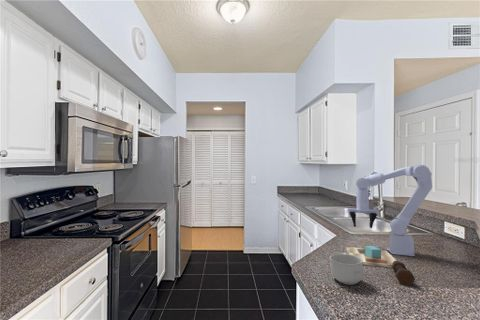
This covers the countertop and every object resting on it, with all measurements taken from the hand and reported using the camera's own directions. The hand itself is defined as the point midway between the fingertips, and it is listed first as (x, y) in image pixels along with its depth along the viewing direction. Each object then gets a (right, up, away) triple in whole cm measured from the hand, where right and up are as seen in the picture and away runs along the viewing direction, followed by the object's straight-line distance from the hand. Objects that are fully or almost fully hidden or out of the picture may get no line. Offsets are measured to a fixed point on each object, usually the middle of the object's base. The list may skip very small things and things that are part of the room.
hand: (362, 227), depth 124 cm
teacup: (-26, -8, -38) cm, 47 cm away
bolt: (-4, -9, -35) cm, 37 cm away
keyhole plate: (-5, -9, -16) cm, 20 cm away
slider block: (-6, -9, -21) cm, 23 cm away
